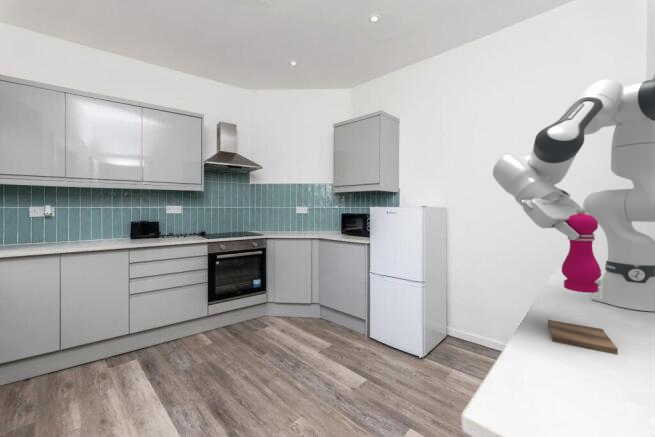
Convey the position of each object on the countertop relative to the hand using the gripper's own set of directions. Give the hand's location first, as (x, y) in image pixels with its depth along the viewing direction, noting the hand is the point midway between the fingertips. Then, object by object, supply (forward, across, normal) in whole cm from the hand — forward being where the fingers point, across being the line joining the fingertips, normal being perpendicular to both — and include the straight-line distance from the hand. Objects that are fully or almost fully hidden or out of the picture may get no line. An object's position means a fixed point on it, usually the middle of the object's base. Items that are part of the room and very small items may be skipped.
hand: (584, 237), depth 69 cm
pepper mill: (+9, 0, +10) cm, 13 cm away
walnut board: (+17, 0, +18) cm, 24 cm away
